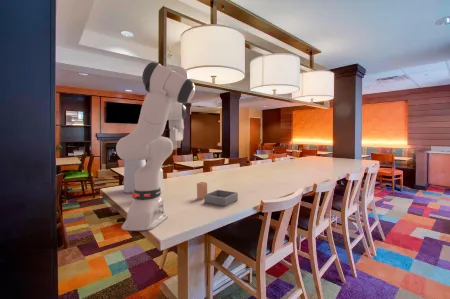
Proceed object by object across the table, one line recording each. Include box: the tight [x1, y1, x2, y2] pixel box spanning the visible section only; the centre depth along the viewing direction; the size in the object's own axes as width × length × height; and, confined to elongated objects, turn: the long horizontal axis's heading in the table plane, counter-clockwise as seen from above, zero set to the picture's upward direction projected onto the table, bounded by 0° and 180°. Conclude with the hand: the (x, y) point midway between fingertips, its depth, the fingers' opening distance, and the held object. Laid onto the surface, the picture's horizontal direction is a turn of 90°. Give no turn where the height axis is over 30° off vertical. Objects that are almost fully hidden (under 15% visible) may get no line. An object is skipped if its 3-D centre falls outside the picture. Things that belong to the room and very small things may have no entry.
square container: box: [196, 181, 208, 201], centre depth 143 cm, size 4×4×10 cm
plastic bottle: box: [123, 160, 147, 194], centre depth 163 cm, size 15×15×28 cm
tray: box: [203, 189, 239, 207], centre depth 136 cm, size 14×14×5 cm
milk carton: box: [159, 168, 164, 193], centre depth 158 cm, size 7×7×19 cm
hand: (176, 148), depth 145 cm, fingers open, 8 cm apart
